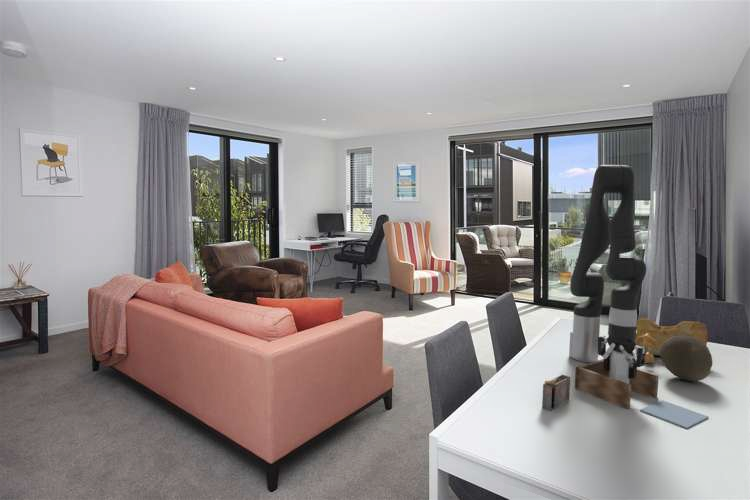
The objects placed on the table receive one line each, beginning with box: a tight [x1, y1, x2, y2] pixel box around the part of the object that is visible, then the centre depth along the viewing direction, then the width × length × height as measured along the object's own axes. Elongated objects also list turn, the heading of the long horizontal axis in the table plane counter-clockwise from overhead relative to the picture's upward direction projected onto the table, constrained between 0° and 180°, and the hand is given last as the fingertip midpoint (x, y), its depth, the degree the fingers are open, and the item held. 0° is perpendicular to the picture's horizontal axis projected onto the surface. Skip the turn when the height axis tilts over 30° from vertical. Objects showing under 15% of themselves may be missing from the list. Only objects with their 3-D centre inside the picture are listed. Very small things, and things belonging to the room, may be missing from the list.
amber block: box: [635, 318, 709, 357], centre depth 176 cm, size 23×17×15 cm
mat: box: [639, 399, 710, 430], centre depth 126 cm, size 12×12×1 cm
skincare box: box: [609, 350, 631, 384], centre depth 138 cm, size 6×4×12 cm
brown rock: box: [660, 336, 713, 382], centre depth 150 cm, size 14×14×15 cm
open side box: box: [574, 358, 660, 410], centre depth 140 cm, size 17×16×7 cm
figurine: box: [635, 333, 660, 364], centre depth 165 cm, size 8×6×12 cm
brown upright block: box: [541, 373, 572, 412], centre depth 131 cm, size 11×3×10 cm, turn 131°
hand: (619, 374), depth 139 cm, fingers closed on skincare box, 7 cm apart
